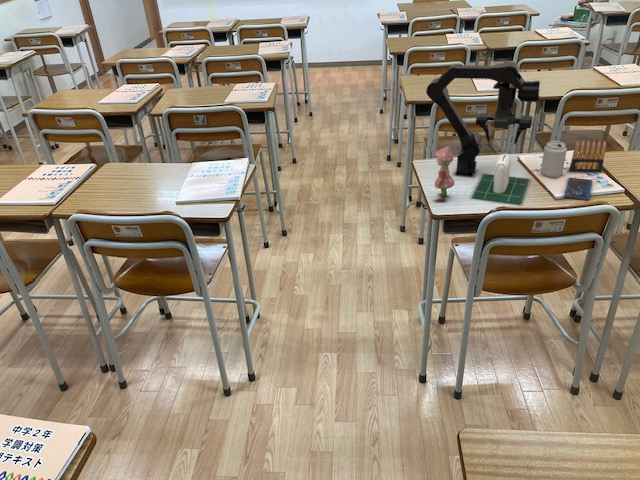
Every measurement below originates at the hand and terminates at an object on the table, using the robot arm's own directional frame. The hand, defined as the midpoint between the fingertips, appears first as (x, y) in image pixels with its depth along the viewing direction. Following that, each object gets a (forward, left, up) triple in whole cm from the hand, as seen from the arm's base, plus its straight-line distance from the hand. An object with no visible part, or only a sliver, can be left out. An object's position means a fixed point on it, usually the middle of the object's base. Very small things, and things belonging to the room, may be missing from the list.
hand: (501, 143), depth 178 cm
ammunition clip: (+29, +12, -13) cm, 34 cm away
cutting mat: (+3, -11, -13) cm, 17 cm away
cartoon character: (-14, -24, -13) cm, 31 cm away
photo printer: (+3, -11, -13) cm, 17 cm away
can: (+18, +6, -13) cm, 23 cm away
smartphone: (+28, -4, -13) cm, 31 cm away
